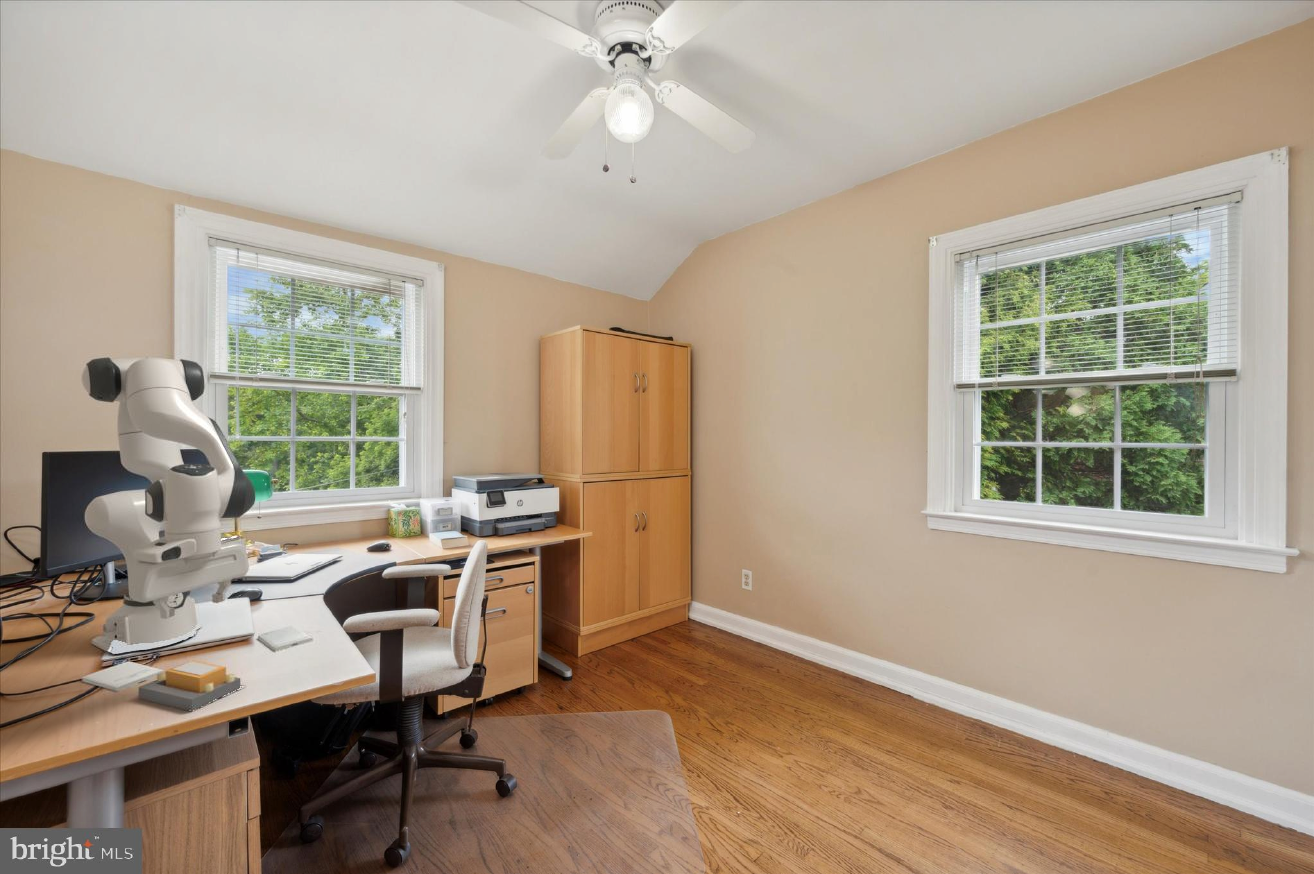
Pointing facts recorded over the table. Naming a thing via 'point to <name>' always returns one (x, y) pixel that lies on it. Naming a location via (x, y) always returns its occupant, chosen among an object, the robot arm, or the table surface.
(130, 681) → the external hard drive
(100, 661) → the table surface
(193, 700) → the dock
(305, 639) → the hard drive
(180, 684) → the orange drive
